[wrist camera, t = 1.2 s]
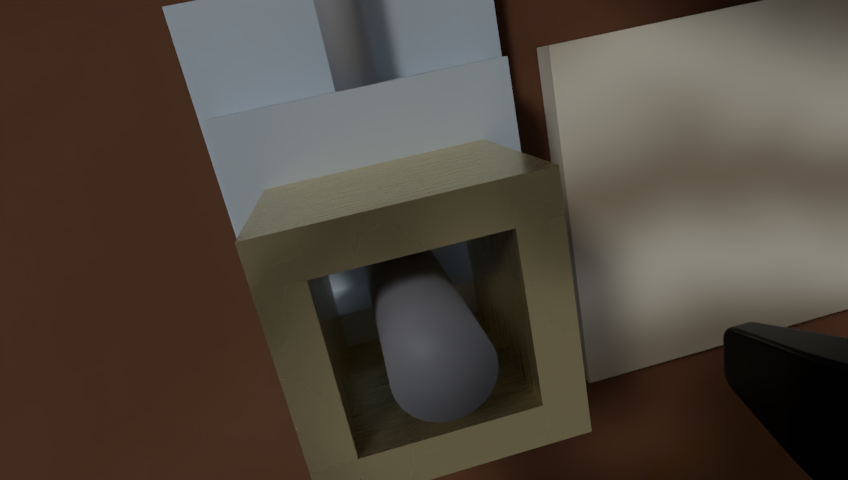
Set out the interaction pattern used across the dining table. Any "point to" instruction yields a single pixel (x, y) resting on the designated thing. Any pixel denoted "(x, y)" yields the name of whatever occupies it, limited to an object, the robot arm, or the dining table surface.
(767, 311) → the birch pad
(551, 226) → the brass sleeve
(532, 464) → the dining table surface
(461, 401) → the vise
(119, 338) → the dining table surface
